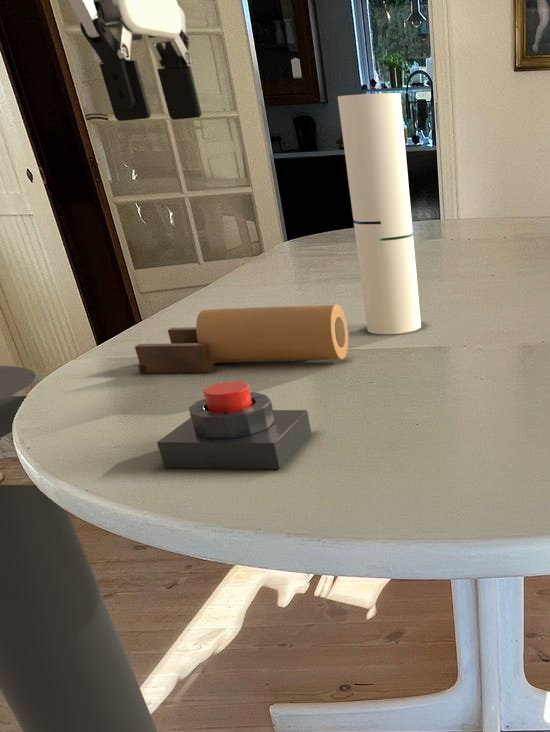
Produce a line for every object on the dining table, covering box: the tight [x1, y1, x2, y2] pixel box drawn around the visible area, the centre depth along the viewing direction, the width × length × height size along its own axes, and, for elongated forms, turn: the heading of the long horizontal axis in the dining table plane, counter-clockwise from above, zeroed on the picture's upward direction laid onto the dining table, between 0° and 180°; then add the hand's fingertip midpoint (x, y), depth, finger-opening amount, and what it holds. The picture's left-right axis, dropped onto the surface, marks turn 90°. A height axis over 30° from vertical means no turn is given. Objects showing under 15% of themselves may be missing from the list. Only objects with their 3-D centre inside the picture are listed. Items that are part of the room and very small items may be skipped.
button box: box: [156, 391, 312, 470], centre depth 62 cm, size 10×8×4 cm
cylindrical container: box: [337, 92, 422, 335], centre depth 91 cm, size 7×7×25 cm
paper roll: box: [195, 303, 349, 364], centre depth 85 cm, size 6×6×16 cm
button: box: [202, 381, 253, 413], centre depth 61 cm, size 4×4×2 cm
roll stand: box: [134, 326, 214, 374], centre depth 87 cm, size 8×9×3 cm
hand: (161, 118), depth 69 cm, fingers open, 9 cm apart
